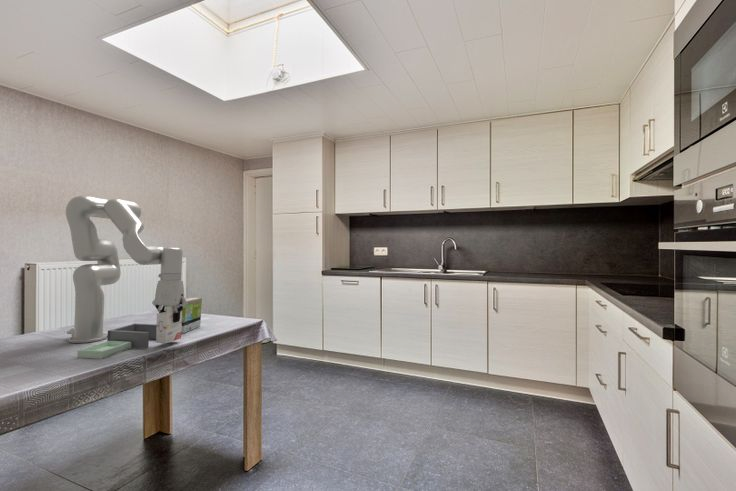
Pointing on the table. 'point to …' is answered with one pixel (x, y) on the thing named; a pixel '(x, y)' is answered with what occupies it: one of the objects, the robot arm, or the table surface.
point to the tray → (104, 349)
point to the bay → (134, 334)
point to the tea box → (191, 314)
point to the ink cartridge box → (168, 326)
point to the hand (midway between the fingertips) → (169, 321)
